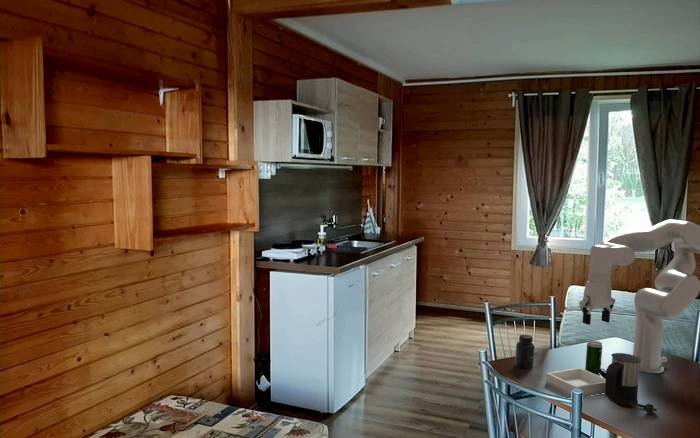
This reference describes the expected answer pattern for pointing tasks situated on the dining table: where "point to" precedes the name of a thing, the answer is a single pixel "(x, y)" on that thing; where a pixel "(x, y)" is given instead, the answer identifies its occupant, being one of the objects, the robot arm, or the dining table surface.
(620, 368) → the milk frother
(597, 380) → the tray
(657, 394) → the dining table surface
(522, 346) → the supplement bottle
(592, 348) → the beer can
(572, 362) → the dining table surface
